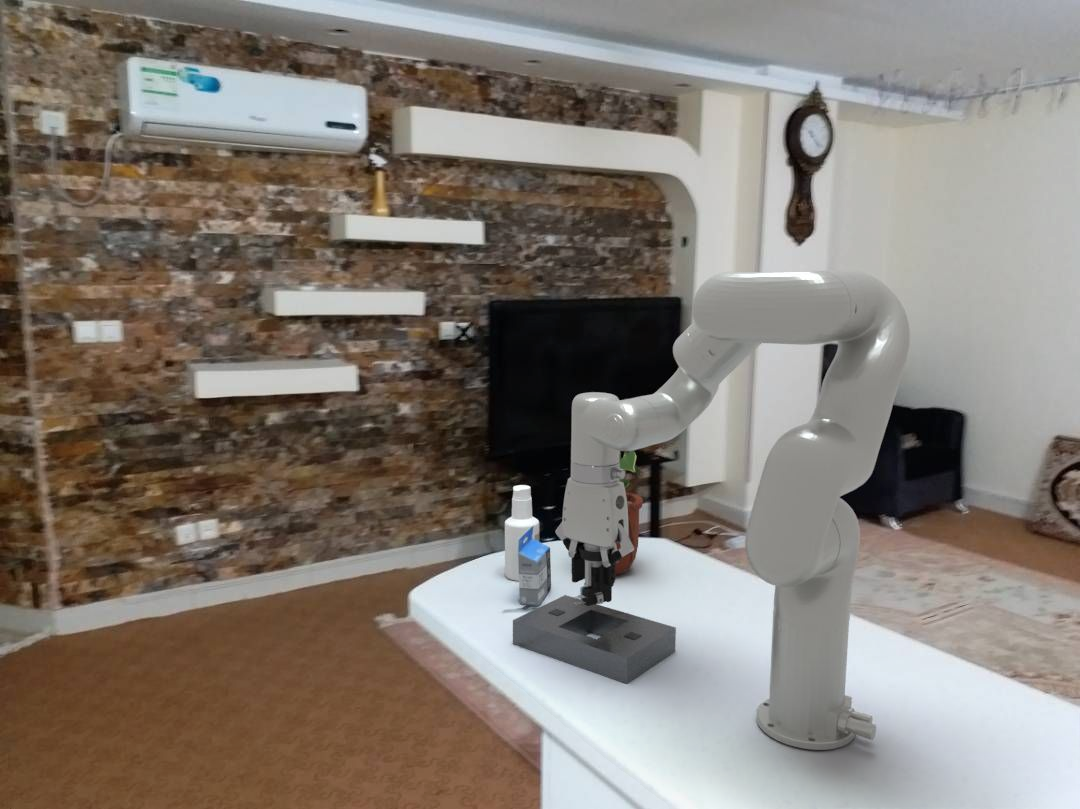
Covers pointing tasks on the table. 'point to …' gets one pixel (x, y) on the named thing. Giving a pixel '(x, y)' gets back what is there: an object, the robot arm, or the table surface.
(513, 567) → the spray bottle
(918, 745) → the table surface
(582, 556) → the push button
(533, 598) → the label tape box
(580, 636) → the gray pocketed block
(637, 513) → the potted plant
